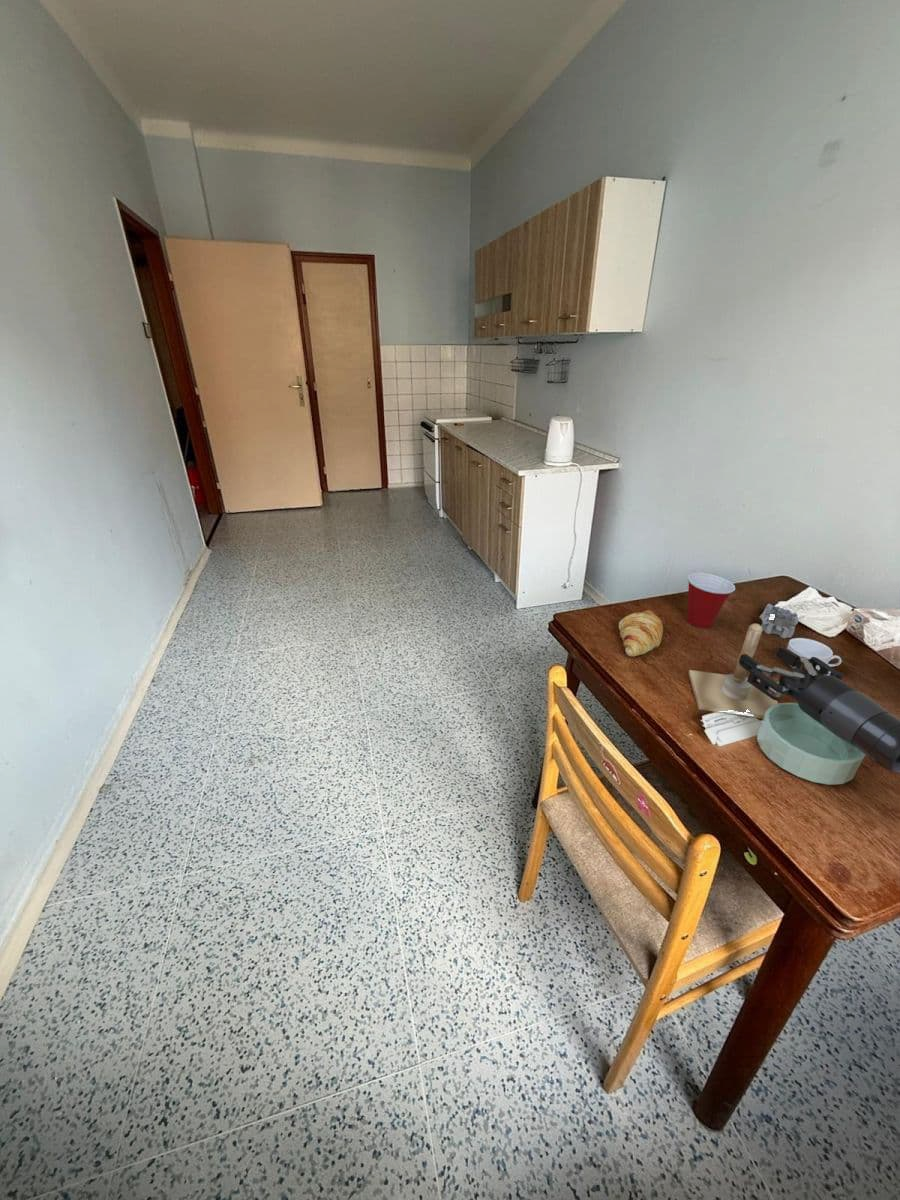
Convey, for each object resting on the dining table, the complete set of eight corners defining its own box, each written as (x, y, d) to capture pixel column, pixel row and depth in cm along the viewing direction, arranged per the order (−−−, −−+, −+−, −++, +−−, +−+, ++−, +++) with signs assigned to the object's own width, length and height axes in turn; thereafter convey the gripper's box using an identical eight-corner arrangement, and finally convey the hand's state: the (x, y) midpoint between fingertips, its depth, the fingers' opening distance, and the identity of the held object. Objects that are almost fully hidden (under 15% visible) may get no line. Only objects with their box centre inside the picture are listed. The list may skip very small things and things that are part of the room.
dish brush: (743, 687, 97) (767, 619, 89) (749, 701, 93) (774, 632, 86) (719, 683, 98) (740, 616, 91) (724, 697, 94) (746, 629, 87)
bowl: (832, 732, 87) (844, 709, 84) (871, 795, 75) (885, 770, 72) (746, 719, 90) (755, 697, 88) (770, 777, 78) (780, 753, 76)
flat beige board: (765, 683, 100) (766, 680, 99) (784, 722, 89) (786, 718, 89) (688, 673, 103) (689, 669, 103) (698, 709, 93) (699, 705, 93)
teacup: (784, 673, 103) (792, 652, 100) (778, 654, 109) (786, 634, 106) (839, 684, 99) (849, 663, 96) (831, 664, 105) (840, 644, 102)
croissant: (639, 676, 108) (663, 655, 103) (603, 649, 110) (624, 627, 105) (656, 631, 124) (677, 611, 119) (624, 608, 126) (643, 588, 120)
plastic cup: (728, 636, 116) (741, 592, 110) (680, 630, 119) (691, 587, 113) (719, 614, 125) (731, 573, 119) (675, 609, 128) (684, 569, 122)
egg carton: (791, 641, 114) (796, 626, 112) (755, 631, 118) (760, 617, 116) (797, 623, 121) (802, 609, 119) (763, 614, 125) (768, 600, 123)
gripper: (887, 684, 74) (797, 631, 88) (815, 700, 71) (733, 643, 85) (869, 720, 78) (784, 664, 92) (799, 737, 75) (723, 676, 89)
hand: (760, 654), depth 88 cm, fingers open, 8 cm apart
